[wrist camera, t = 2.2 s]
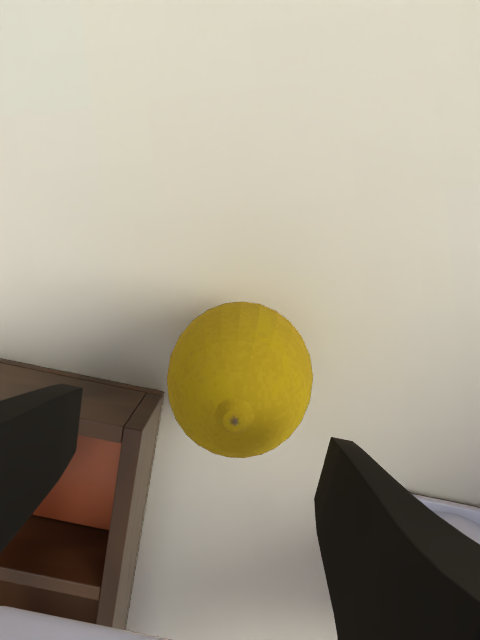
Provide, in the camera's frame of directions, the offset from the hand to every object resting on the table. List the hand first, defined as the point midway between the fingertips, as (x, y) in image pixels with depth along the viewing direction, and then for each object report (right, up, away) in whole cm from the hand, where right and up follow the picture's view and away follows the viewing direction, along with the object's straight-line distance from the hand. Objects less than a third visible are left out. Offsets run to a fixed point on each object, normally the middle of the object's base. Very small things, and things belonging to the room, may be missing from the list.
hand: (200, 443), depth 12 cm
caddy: (-9, -7, +11) cm, 16 cm away
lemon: (+1, +2, +8) cm, 9 cm away
